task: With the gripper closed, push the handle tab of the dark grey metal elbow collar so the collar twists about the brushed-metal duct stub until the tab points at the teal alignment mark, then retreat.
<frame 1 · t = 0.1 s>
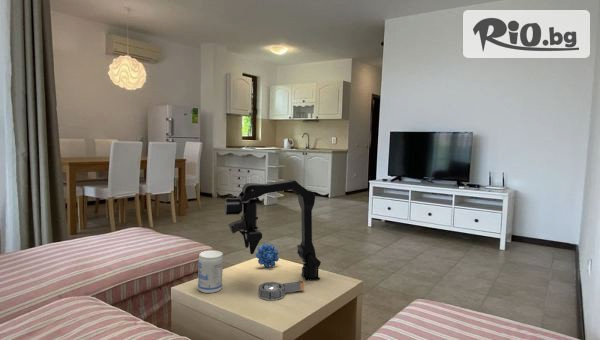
hand: (249, 250, 156), 15 cm above the table, fingers open, 9 cm apart
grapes: (267, 268, 178), on the table
duct stub: (271, 295, 148), on the table
collar: (281, 288, 149), point 2 cm above the table, hinge at 0.0°
supplement tub: (210, 289, 152), on the table
align mark: (278, 286, 157), on the table
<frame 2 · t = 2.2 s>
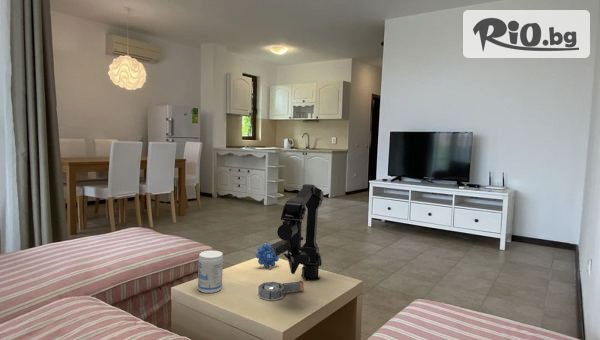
hand: (292, 273, 144), 10 cm above the table, fingers closed
nothing on the table moved.
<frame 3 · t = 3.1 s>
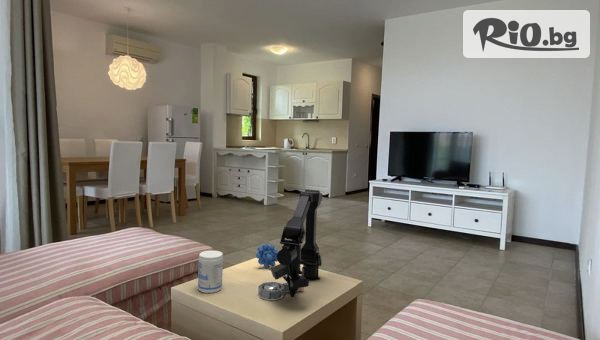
hand: (292, 296, 144), 1 cm above the table, fingers closed
nothing on the table moved.
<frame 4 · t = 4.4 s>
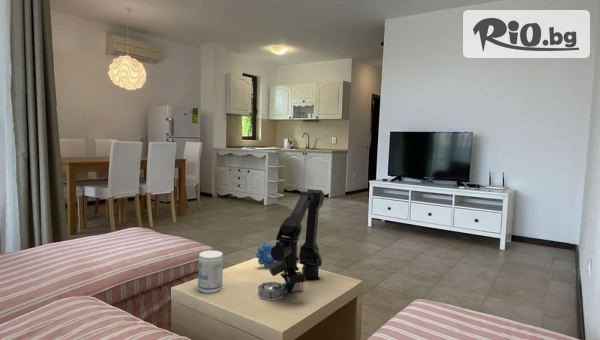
hand: (289, 293, 148), 1 cm above the table, fingers closed
collar: (281, 287, 149), point 2 cm above the table, hinge at 1.9°, touching gripper
everything else where it was.
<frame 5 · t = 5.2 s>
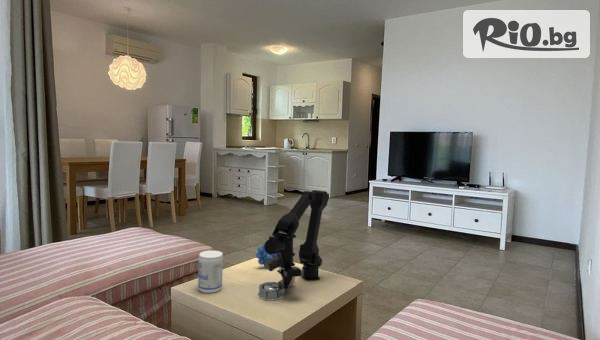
hand: (286, 288, 150), 1 cm above the table, fingers closed, pressing on collar
collar: (278, 286, 151), point 2 cm above the table, hinge at 31.3°, touching gripper
everything else where it was.
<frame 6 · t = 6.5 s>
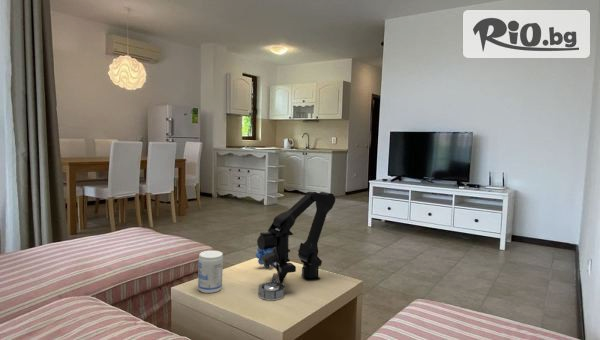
hand: (281, 283, 157), 1 cm above the table, fingers closed
collar: (273, 285, 152), point 2 cm above the table, hinge at 65.8°, touching gripper
everything else where it was.
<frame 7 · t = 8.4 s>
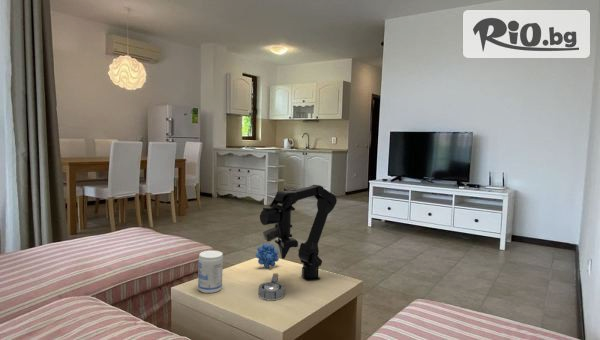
hand: (283, 258, 156), 12 cm above the table, fingers closed
collar: (273, 285, 152), point 2 cm above the table, hinge at 66.1°
everything else where it was.
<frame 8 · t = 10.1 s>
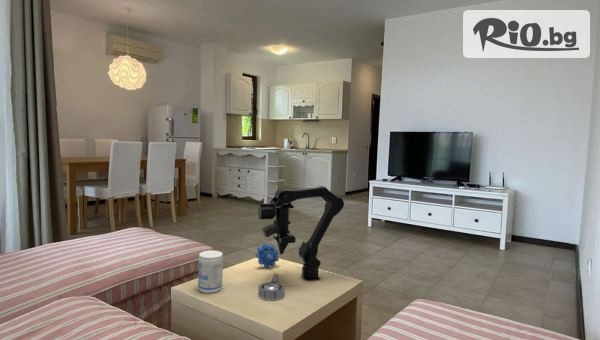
hand: (281, 254, 161), 12 cm above the table, fingers closed
nothing on the table moved.
at the end: collar at +66° (first picture: +0°) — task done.
